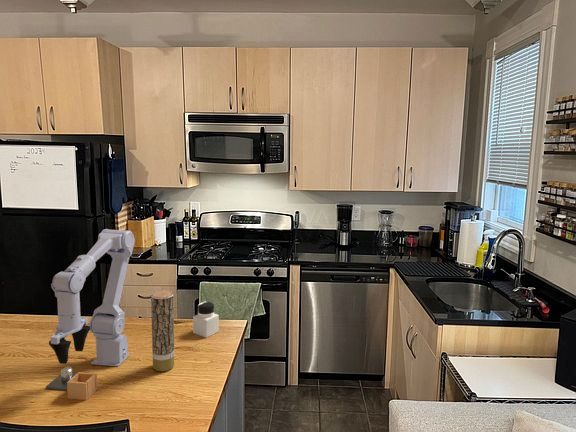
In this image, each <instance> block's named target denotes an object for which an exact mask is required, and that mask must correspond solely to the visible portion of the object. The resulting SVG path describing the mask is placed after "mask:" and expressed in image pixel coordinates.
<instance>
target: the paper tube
mask: <svg viewBox="0 0 576 432" xmlns="http://www.w3.org/2000/svg"><path fill="white" fill-rule="evenodd" d="M150 295H151V296H150V298H151V299H150V305H151V341H152V342H151V344H152V345H151V346H152V347H151V348H152V351H151V352H152V368H153V370H154V371H156V372H167V371H170V370H172V369H173V368H174V366H175V318H174V317H175V316H174V314H175V313H174V312H175V310H174V308H175V307H174V292H173V291H171V290H164V289H163V290H157V291H153V292H152V293H151V294H150Z"/></svg>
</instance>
